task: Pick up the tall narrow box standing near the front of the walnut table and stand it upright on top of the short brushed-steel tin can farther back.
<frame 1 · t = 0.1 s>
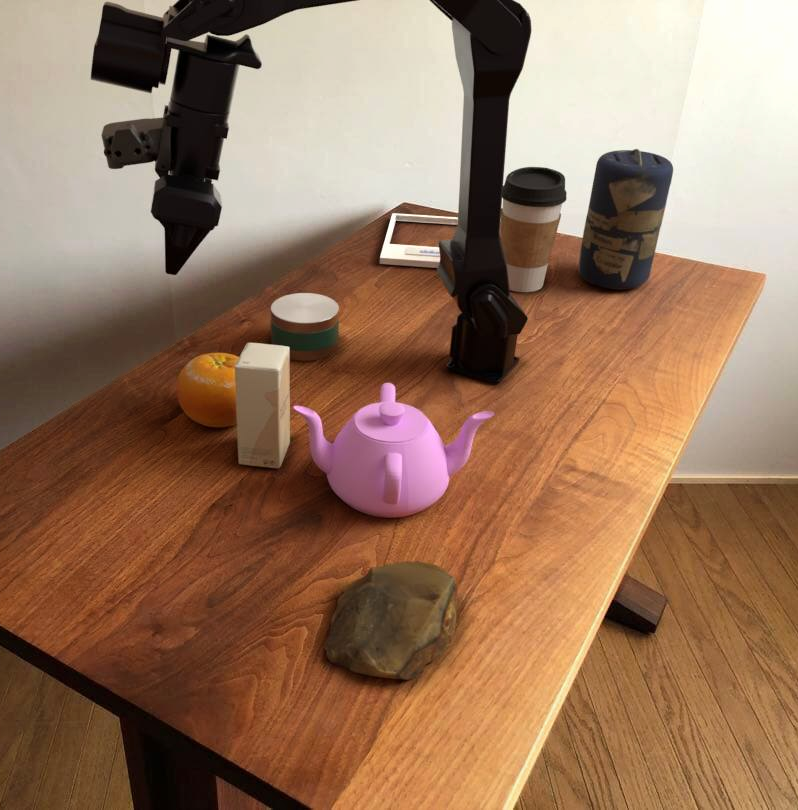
hand: (171, 255, 94), 15 cm above the table, tool pointing down, fingers open, 9 cm apart
photo frame: (434, 244, 136), on the table
box: (264, 454, 91), on the table
tin can: (304, 344, 110), on the table
decorative stone: (389, 634, 71), on the table
canister: (611, 281, 126), on the table
teapot: (388, 488, 86), on the table
fruit: (219, 418, 96), on the table
coffee cup: (520, 284, 125), on the table
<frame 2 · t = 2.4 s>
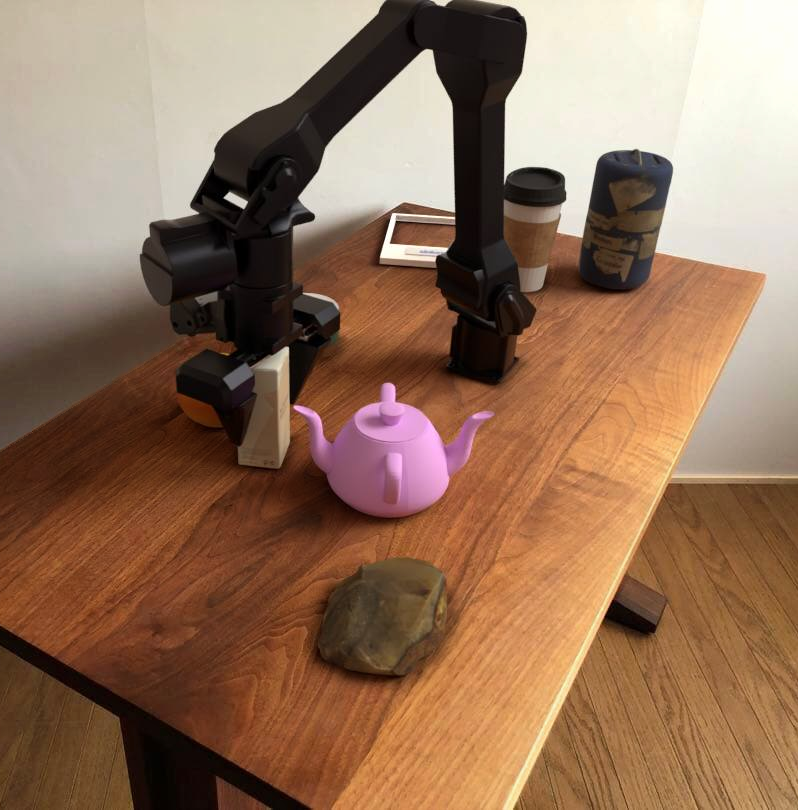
hand: (264, 423, 89), 4 cm above the table, tool pointing down
box: (264, 454, 91), on the table, touching gripper
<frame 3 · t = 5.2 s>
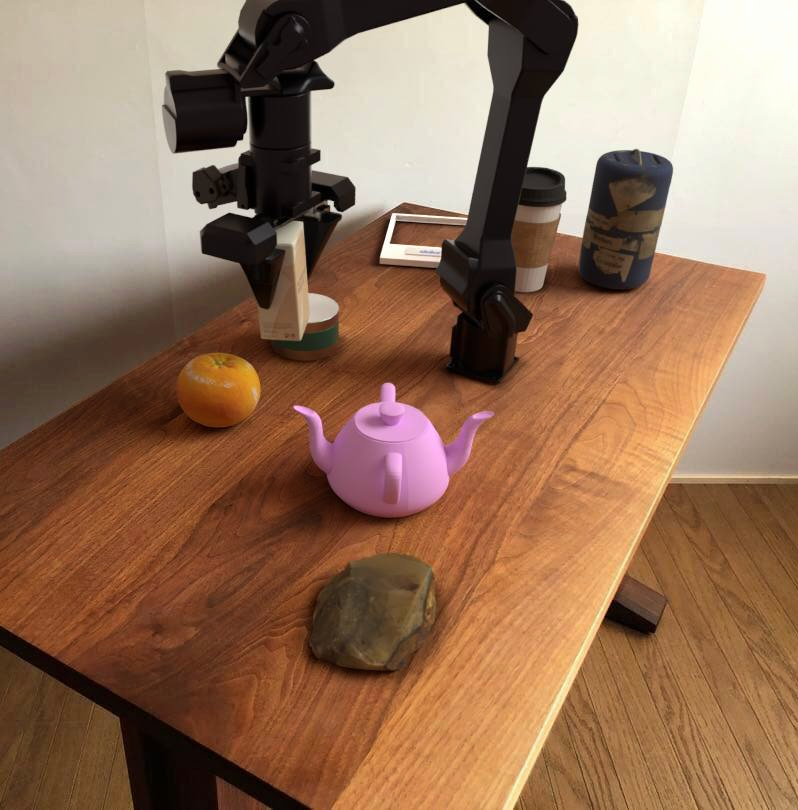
hand: (283, 295, 92), 13 cm above the table, tool pointing down, fingers closed on box, 6 cm apart
box: (285, 328, 95), point 9 cm above the table, touching gripper
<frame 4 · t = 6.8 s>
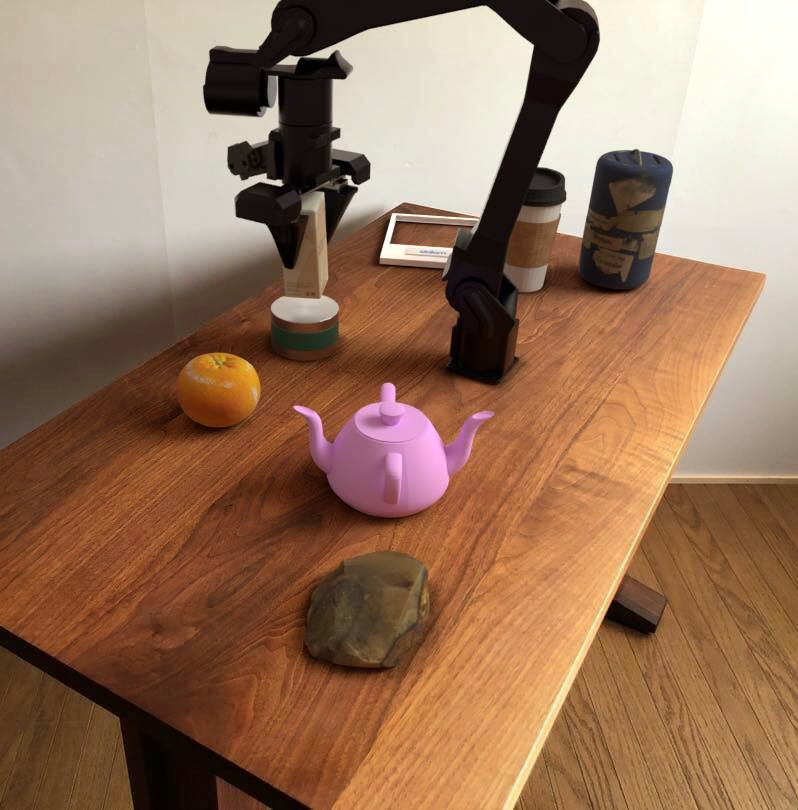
hand: (305, 258, 104), 11 cm above the table, tool pointing down, fingers closed on box, 6 cm apart
box: (307, 288, 106), point 7 cm above the table, touching gripper
when the fingers open (9 cm above the table, at t = 7.9 s): box stays where it is, resting on tin can.
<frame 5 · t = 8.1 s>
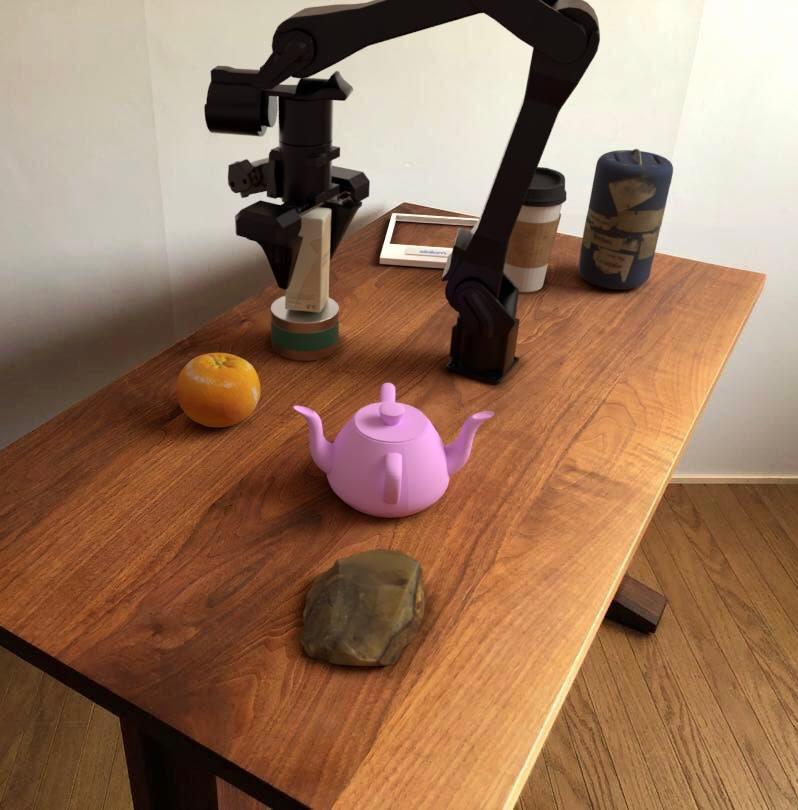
hand: (305, 274, 105), 9 cm above the table, tool pointing down, fingers open, 8 cm apart
box: (306, 305, 108), point 5 cm above the table, touching tin can
tin can: (304, 344, 110), on the table, touching box
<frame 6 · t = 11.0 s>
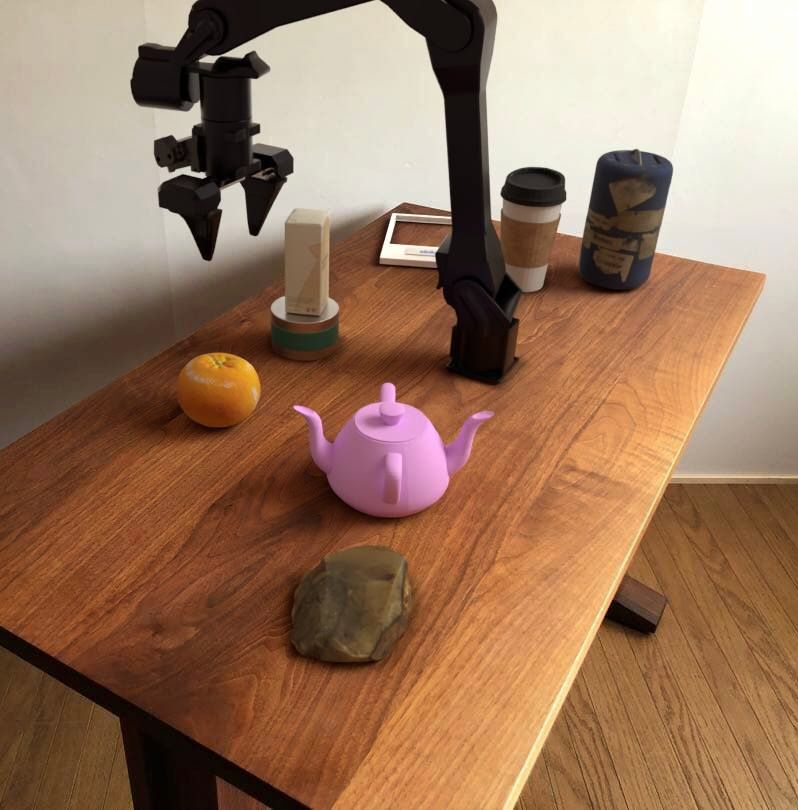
hand: (231, 247, 109), 10 cm above the table, tool pointing down, fingers open, 9 cm apart
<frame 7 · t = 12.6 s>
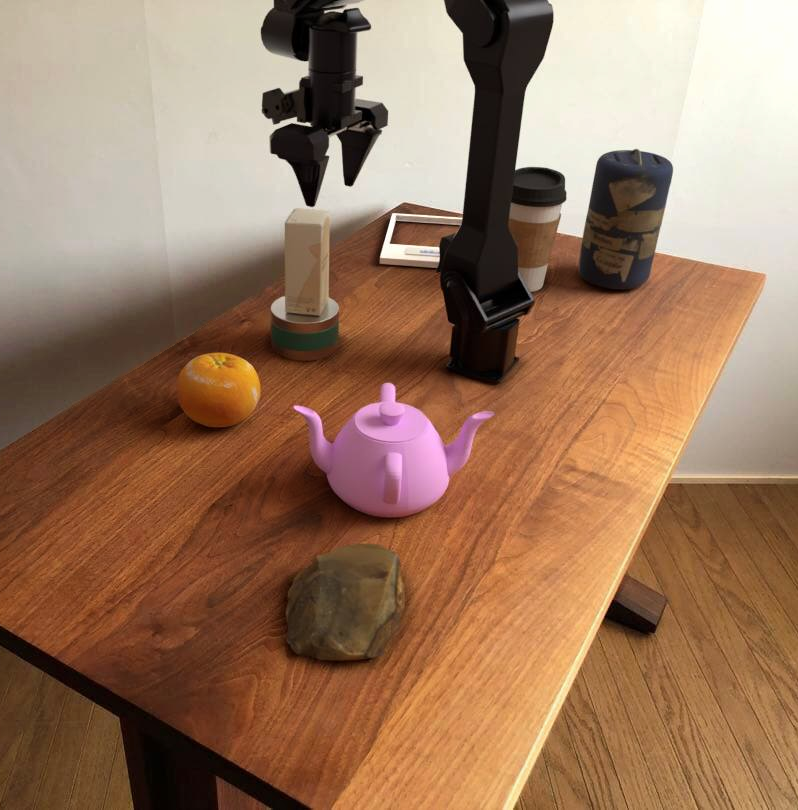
hand: (330, 195, 116), 13 cm above the table, tool pointing down, fingers open, 9 cm apart
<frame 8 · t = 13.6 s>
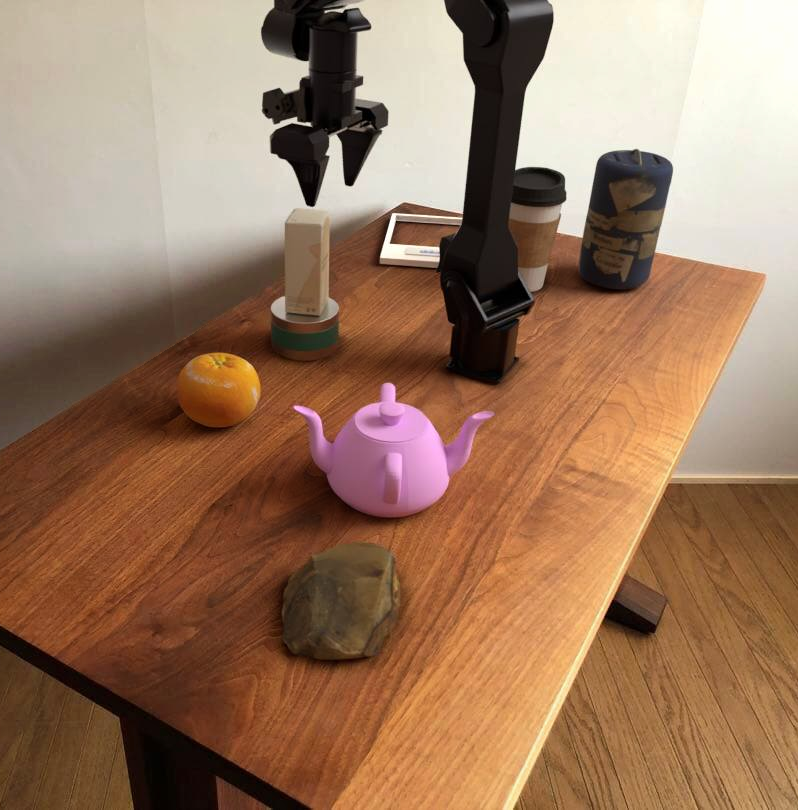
hand: (330, 195, 116), 13 cm above the table, tool pointing down, fingers open, 9 cm apart
at the end: box 0.5 cm off-centre on the tin can, point 4.8 cm above the tin can's base; box tilted 0°; the gripper is holding nothing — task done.
